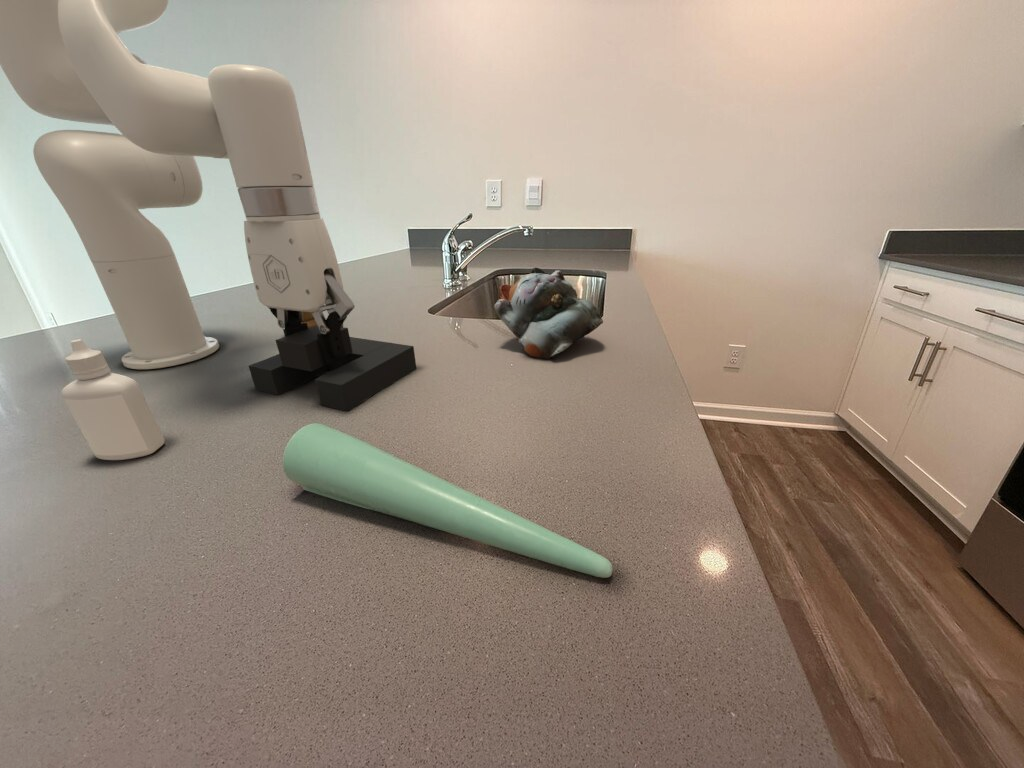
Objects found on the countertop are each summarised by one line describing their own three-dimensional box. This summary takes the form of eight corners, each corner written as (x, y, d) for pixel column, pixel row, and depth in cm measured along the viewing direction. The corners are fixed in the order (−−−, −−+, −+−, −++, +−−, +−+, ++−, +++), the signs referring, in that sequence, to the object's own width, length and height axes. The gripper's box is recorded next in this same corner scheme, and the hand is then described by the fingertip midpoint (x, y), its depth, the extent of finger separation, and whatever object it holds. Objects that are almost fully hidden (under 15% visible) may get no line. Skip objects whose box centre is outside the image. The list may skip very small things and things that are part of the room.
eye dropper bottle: (123, 469, 39) (61, 352, 34) (90, 457, 41) (27, 345, 36) (172, 445, 43) (123, 336, 37) (140, 435, 45) (88, 330, 39)
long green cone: (610, 548, 22) (274, 443, 33) (602, 613, 25) (291, 497, 35) (627, 488, 27) (327, 412, 37) (619, 548, 29) (339, 462, 39)
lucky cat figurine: (537, 366, 59) (495, 278, 57) (513, 368, 71) (478, 295, 69) (618, 323, 63) (581, 239, 61) (583, 332, 75) (551, 261, 73)
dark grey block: (282, 366, 51) (274, 340, 50) (325, 348, 57) (320, 324, 56) (311, 371, 49) (304, 344, 48) (353, 352, 55) (348, 327, 54)
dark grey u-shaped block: (255, 389, 54) (248, 365, 53) (335, 354, 66) (330, 333, 64) (347, 411, 49) (341, 385, 47) (416, 368, 60) (413, 345, 59)
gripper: (198, 208, 45) (248, 359, 53) (310, 206, 39) (347, 378, 47) (259, 205, 52) (296, 341, 59) (364, 203, 45) (389, 356, 53)
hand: (318, 356), depth 53 cm, fingers closed on dark grey block, 5 cm apart
